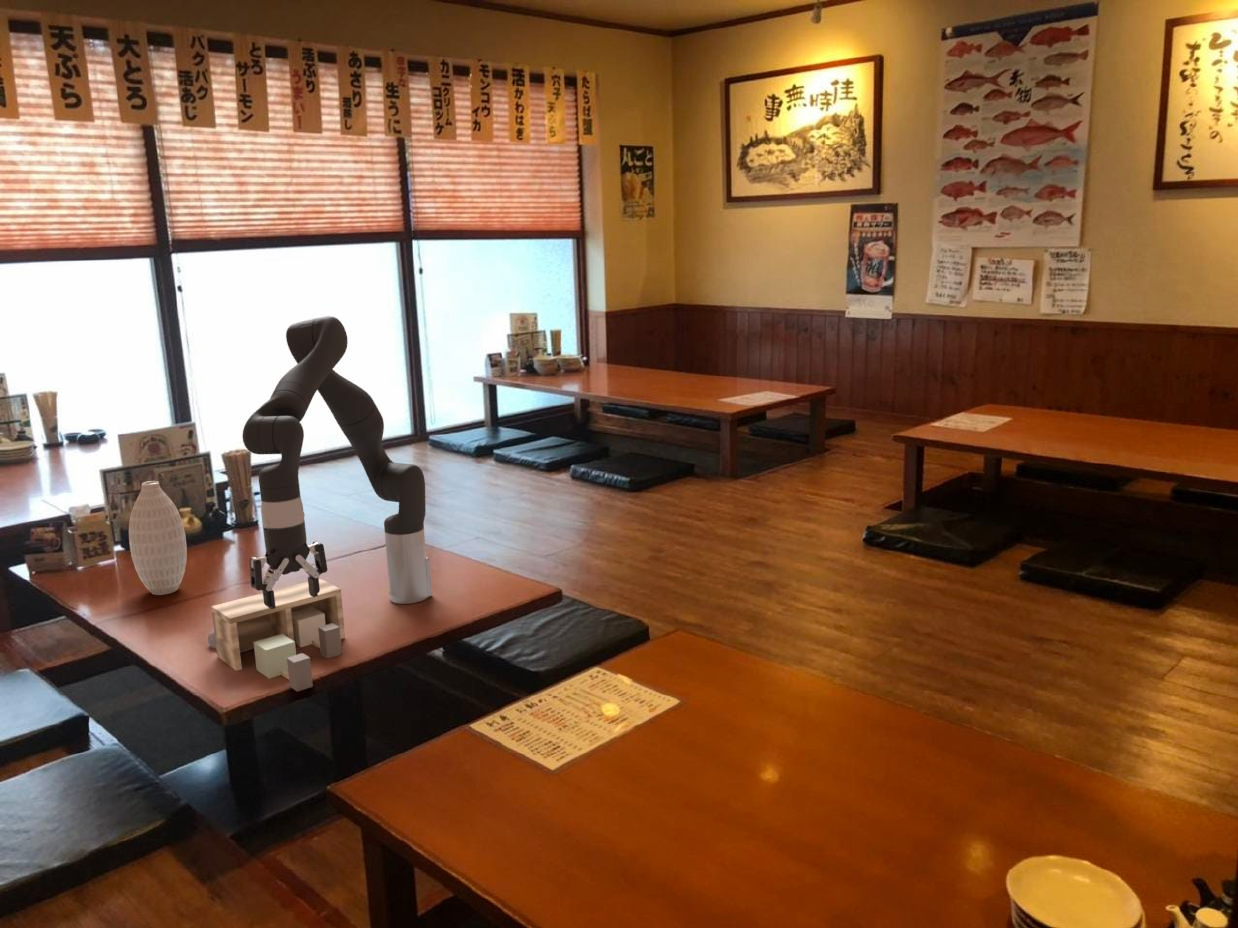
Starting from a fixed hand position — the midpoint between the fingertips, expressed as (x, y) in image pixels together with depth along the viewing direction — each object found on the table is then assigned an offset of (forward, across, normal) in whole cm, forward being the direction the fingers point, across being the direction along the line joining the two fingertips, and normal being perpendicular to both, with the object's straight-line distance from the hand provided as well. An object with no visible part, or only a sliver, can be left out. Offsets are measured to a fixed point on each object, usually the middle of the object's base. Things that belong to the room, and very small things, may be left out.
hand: (292, 601), depth 189 cm
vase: (+17, 0, -77) cm, 79 cm away
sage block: (+17, +1, -5) cm, 18 cm away
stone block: (+18, -1, -32) cm, 37 cm away
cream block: (+17, -11, -15) cm, 25 cm away
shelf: (+17, -5, -20) cm, 27 cm away
